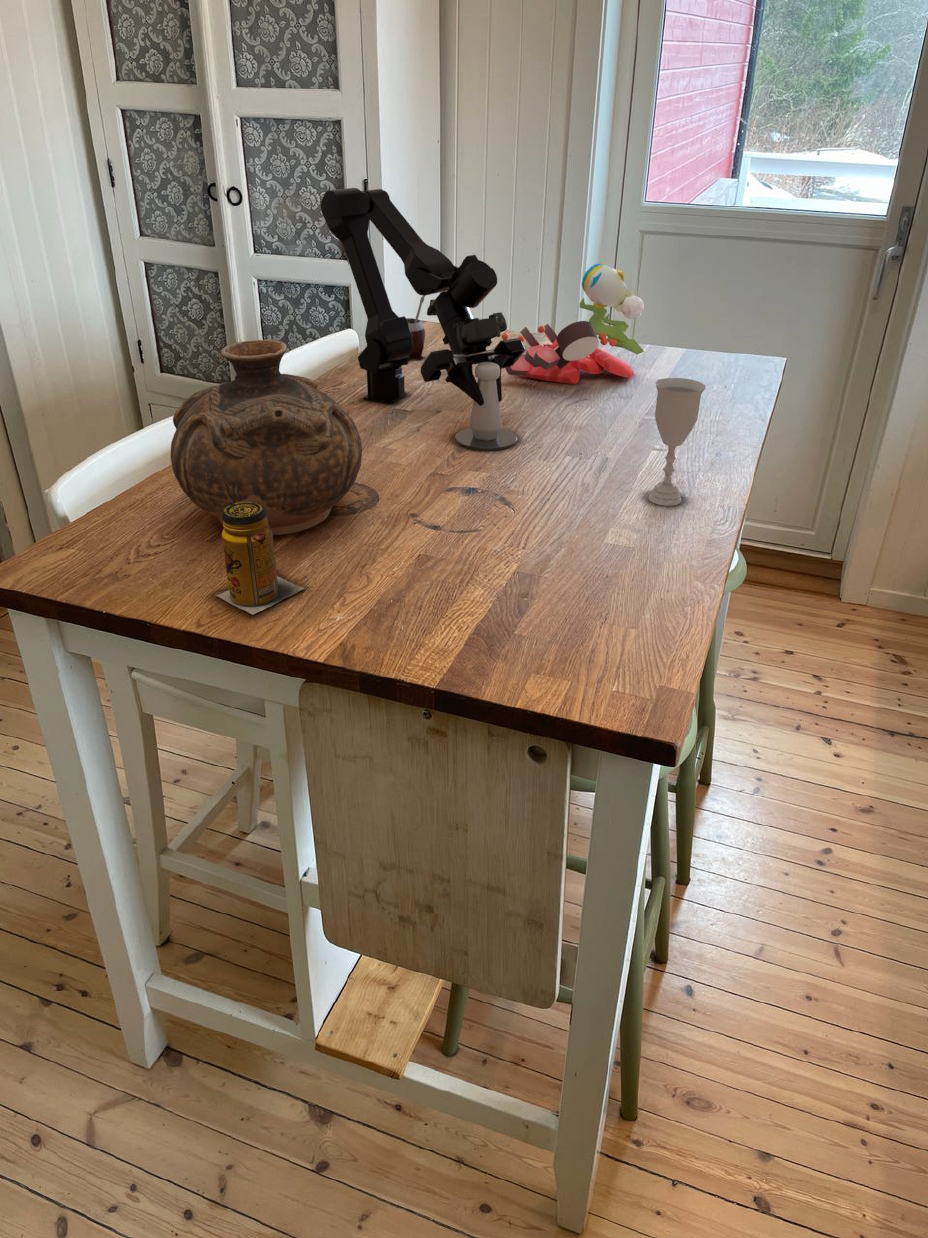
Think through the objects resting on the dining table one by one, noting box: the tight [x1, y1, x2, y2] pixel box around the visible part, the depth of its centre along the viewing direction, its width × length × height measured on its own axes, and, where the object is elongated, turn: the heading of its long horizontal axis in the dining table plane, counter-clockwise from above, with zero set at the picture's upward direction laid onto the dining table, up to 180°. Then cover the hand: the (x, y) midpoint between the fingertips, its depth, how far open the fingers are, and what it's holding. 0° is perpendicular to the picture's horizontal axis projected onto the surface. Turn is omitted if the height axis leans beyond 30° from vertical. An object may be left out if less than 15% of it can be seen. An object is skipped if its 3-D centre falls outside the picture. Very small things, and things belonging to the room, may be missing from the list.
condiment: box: [215, 502, 306, 616], centre depth 116 cm, size 7×8×12 cm
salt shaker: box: [469, 362, 503, 441], centre depth 163 cm, size 6×6×13 cm
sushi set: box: [501, 263, 645, 385], centre depth 195 cm, size 29×30×24 cm
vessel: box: [170, 339, 363, 536], centre depth 133 cm, size 27×28×25 cm
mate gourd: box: [406, 295, 427, 360], centre depth 207 cm, size 8×8×15 cm
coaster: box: [454, 427, 518, 452], centre depth 167 cm, size 11×11×1 cm
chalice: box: [648, 377, 707, 507], centre depth 141 cm, size 7×7×18 cm
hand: (491, 402), depth 162 cm, fingers closed on salt shaker, 3 cm apart
